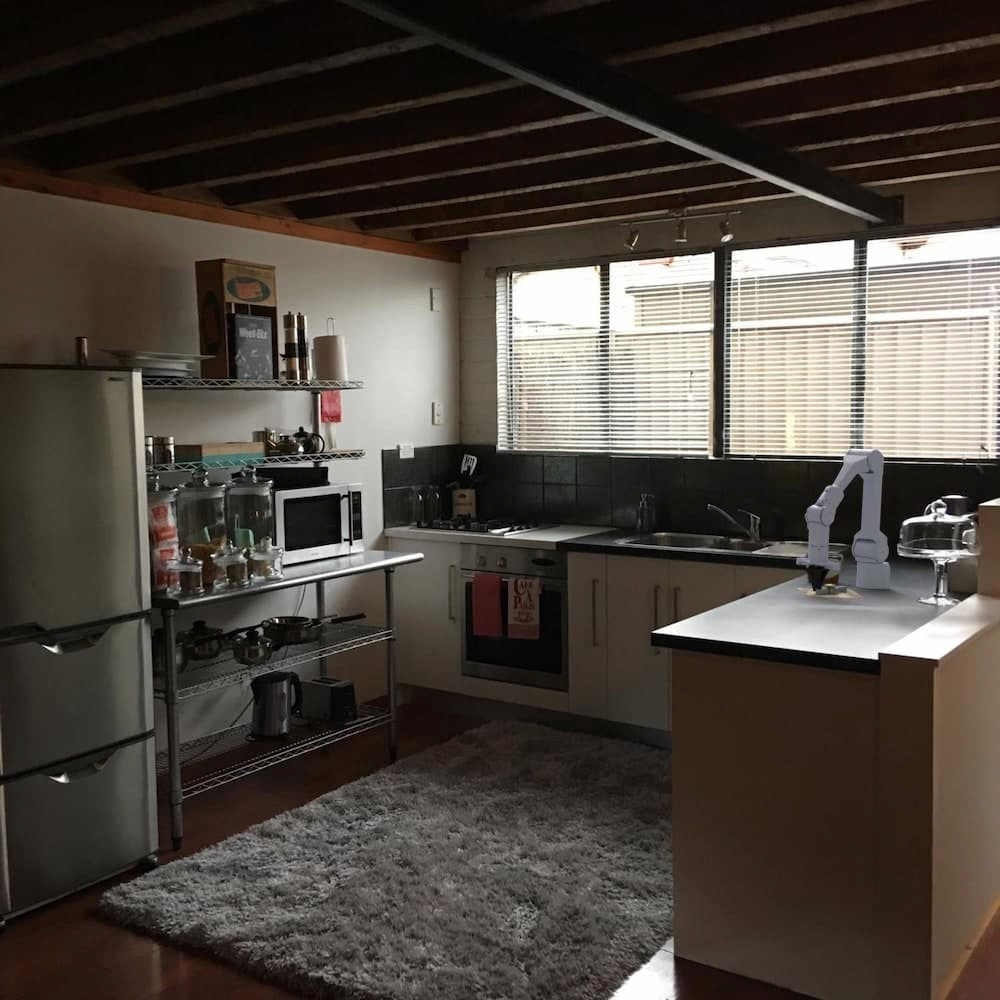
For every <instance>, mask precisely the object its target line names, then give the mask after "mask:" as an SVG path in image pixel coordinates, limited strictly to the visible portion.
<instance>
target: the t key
mask: <svg viewBox="0 0 1000 1000" xmlns="http://www.w3.org/2000/svg"><path fill="white" fill-rule="evenodd" d="M827 587H828V586H824V587H822V588H819V589H816V594H817V595H825V594H839V593H841V592H847V589H848V586H847V585H838V586H837V585H836V586H835V587H833V588H827Z"/></svg>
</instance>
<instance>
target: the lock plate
mask: <svg viewBox="0 0 1000 1000" xmlns="http://www.w3.org/2000/svg"><path fill="white" fill-rule="evenodd" d="M836 586H837V585H836V584H835V583H824V587H827V588H833V587H836ZM796 589H798V590H799V591H800V592H801V593H803V594H804V595H806V596H807V597H809V598H835V599H836V598H838V599H840V598H843V599H844V598H845V599H865V597H864V596H862V595H861V594H859V593H858V592H856V591H854V590H853V589H851V588H847V592H841V593H839V594H825V595H817V594H816V592H814V591H813V589H812V588H811V587H810V588H809V587H797V588H796Z"/></svg>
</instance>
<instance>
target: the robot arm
mask: <svg viewBox="0 0 1000 1000" xmlns="http://www.w3.org/2000/svg"><path fill="white" fill-rule="evenodd" d="M842 459H843V466H842V468H841V469H840V471H839V473H838V475H837V476H836V478H835V479H834V482H833V483H832V485H828V486H826V487H825V488H824V490H823V492H822V493H821V495H820V496H819V498H818V499H817V501H816V502H815V503H814V504H812V505H811V506H809V507H807V509H806V512H805V514H804V518H805V521H806V524H807V526H806V528H807V530H808V545H807V546H808V549H807V550H808V552H807V553H808V558H804V557H796V560H795V561H796V563H795V564H796V565H799V566H800V565H801V566H806V565H808V566H809V567H808V568H806V567H805V571H806V574H807V573H808V575H809V578H810V581H811V582H810V583H811V587H812V589H813V591H814V592H816V589H819V588H823V585H824V583H823V582H824V579H825V577H826V576H827V574H828V572H829V570H830V569H833V570H840V563H835V562H831V561H828V553H829V545H830V544H829V541H830V526H831V524H832V523H833V522H834V520H835V515H836V512H837V508H838V507H839V505H840V503H841V502H842V501H843V498H844V496H845V493H844V491H845V490H846V488H847V487H848V485H850V483H851V482H852V480H853V479H854V478H855V477H856V475H859V476H860V477H861V478H862V480H863V488H862V507H861V508H862V509H861V524H860V525H861V529H860V530H859V531H857V532H856V534H854V535H853V542H852V546H851V553H852V556H853V557H854V558H855V560H854V561H856V564H857V565H856V585H855V586H856V588H860V589H865V590H868V589H869V590H872V589H873V590H890V587H891V586H890V581H891V566H890V564H889V562H887V561H886V559H887V558H888V556H889V551H890V550H889V546H888V536H886V535H885V534H884V533H883V532H882V531H881V530H880V529H881V528H880V527H881V526H880V525H881V505H882V489H883V488H882V487H883V475H884V462H885V456H884V455H883V453H882V452H881V451H880V450H879V449H867V448H866V449H864V448H863V449H862V448H849V449H848V450H847V451H846V453H845V455H844V456H843V457H842ZM885 561H886V562H885ZM814 564H816V565H814ZM820 565H821V566H820Z"/></svg>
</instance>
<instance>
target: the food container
mask: <svg viewBox="0 0 1000 1000" xmlns="http://www.w3.org/2000/svg"><path fill="white" fill-rule="evenodd" d="M803 558H808V552H806V553H805V555H804V557H803ZM828 561H831V562H835V563H840V570H833V569H830V570H829V572H828V574H827V576H826V577H825V579H824V582H823V584H839V583H840V577H841V569H842V563H843V562H845V560H844V555H843V554H841V553H836V552H828ZM814 565H816V564H814ZM820 566H821V565H820ZM808 567H809V566H808V565H805V569H806V568H808ZM806 580H807V583H811V581H810V578H809V575H808V573H807V572H806Z"/></svg>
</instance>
